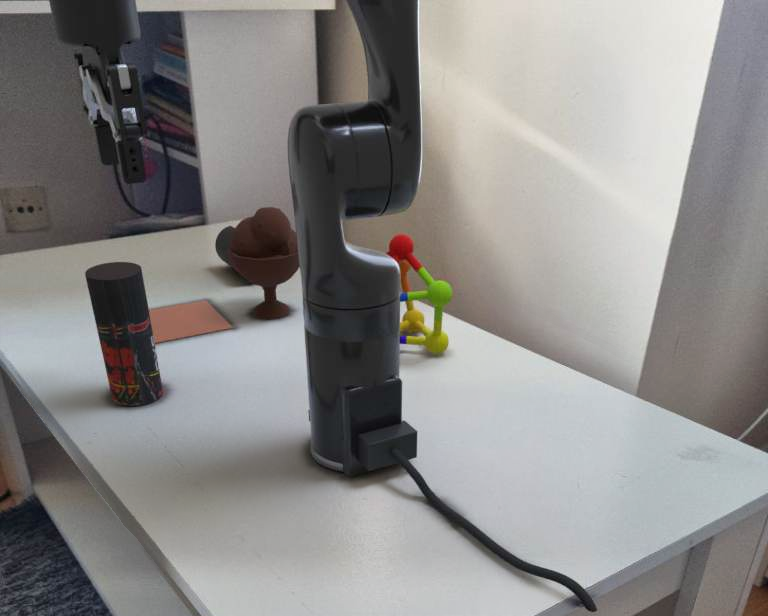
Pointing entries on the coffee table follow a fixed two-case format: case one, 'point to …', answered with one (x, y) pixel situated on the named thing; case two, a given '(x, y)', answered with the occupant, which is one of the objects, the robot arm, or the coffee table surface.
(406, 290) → the educational toy
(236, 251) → the ice cream bowl
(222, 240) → the end cap
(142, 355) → the deodorant
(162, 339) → the tile
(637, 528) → the coffee table surface
